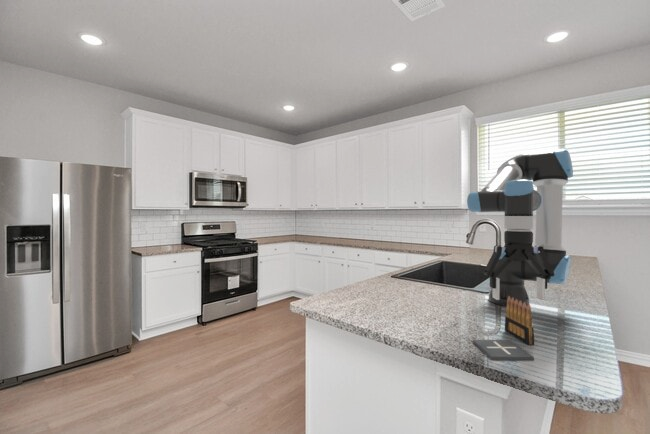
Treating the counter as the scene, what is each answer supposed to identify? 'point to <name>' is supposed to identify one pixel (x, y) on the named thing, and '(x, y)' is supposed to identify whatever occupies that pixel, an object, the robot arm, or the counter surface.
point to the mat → (502, 350)
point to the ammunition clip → (519, 321)
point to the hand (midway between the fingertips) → (518, 299)
